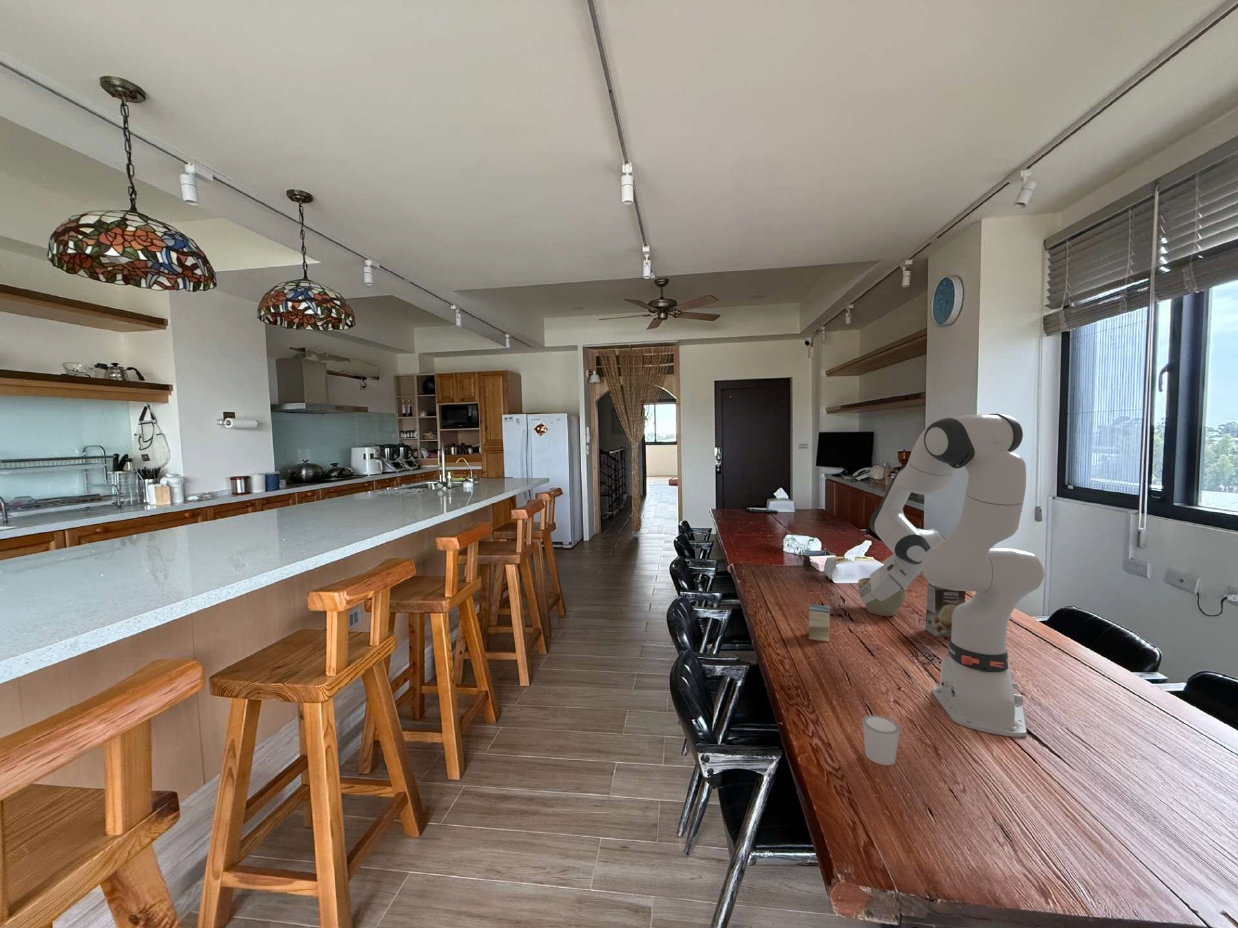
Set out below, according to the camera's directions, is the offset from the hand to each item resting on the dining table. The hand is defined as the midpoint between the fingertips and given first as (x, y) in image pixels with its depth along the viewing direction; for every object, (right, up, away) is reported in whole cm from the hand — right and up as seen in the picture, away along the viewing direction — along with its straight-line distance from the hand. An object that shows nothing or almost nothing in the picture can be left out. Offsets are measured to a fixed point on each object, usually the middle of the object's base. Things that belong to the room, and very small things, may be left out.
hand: (862, 596), depth 158 cm
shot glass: (-23, -19, -55) cm, 62 cm away
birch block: (-11, -15, +6) cm, 20 cm away
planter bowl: (+21, -14, +28) cm, 38 cm away
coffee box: (+31, -15, +8) cm, 36 cm away
